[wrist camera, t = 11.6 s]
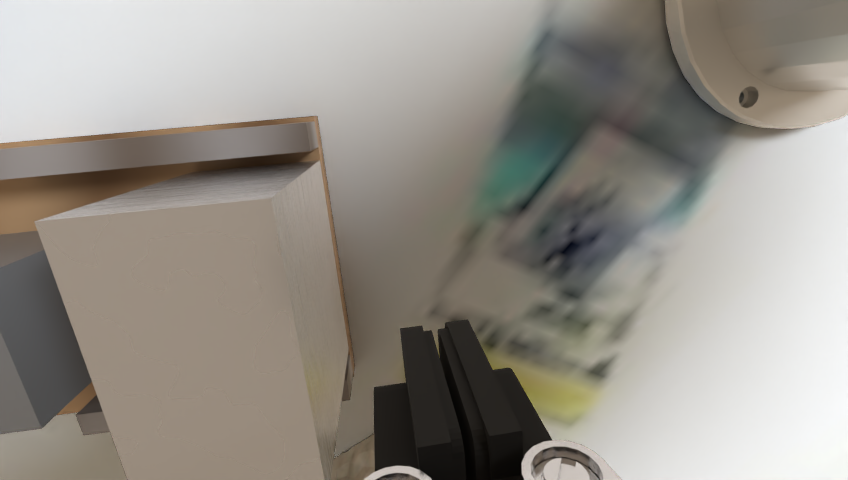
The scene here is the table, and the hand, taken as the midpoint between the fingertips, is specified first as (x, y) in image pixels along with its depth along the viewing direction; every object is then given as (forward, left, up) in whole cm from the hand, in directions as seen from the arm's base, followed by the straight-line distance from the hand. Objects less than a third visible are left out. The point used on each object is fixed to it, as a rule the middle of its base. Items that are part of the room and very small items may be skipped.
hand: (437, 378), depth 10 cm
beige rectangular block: (+6, 0, -9) cm, 10 cm away
